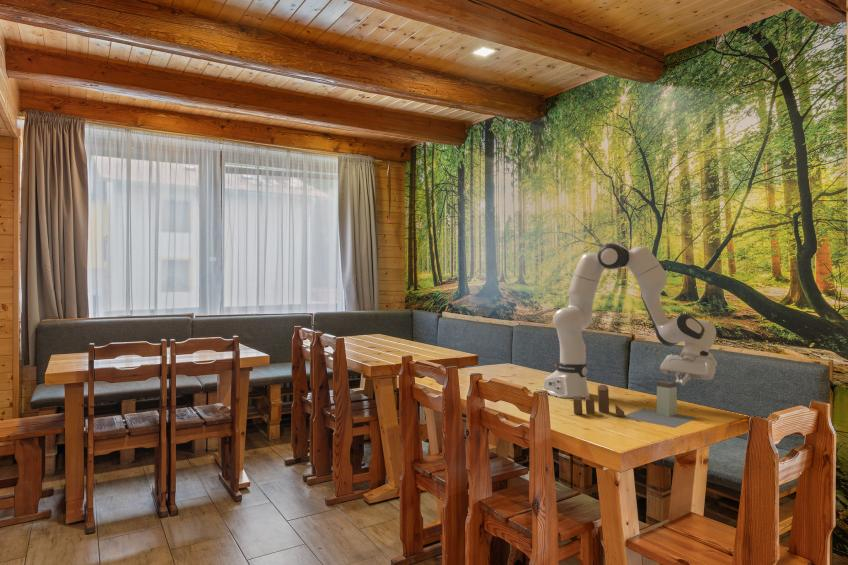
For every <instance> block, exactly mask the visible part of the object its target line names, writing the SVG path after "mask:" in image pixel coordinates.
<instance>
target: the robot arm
mask: <svg viewBox="0 0 848 565" xmlns="http://www.w3.org/2000/svg"><path fill="white" fill-rule="evenodd" d="M623 267H625V268H627V269H629V271H630V272H631V273H632V275H633V276H634V278H635V280H636V282H637V283H638V286H639V288H640V298H641V300H642V303H643V305H644V307H645V310H646V311H647V313H648V316H649V318H650V320H651V322H652V325H653V328H654V331H655V335H656V337H657V339H658V341H659V342H660V343H662V345H664V346H666V347H667V346H668V347H674V346H676V345H677V344H680V342H681V343H682V342H684V346H683V348H682V350H681V352H680V353H679V354H676V353H670V354H669V355H666V357H665V358H664V360H663V361H662V362H661V363H660V365H659V369H660V372H661V373H662V374H663V375H667V376H668V375H669V376H675V378H676V379H675V381H674V382H677V386H678V385H679V386H683V387H684V386H685V384H686V383H687V382H689V381H690V380H691V379H698V380H702V381H703V380H704V381H711V380H712V379H713V378H714V376H715V374H716V367H717V366H718V363H717V360H716V359H715V357H714V355H713V354H712V353H711V352H709V351H710V349H711V348H712V347H713V345H714V343H715V339H716V336H717V329H716V327H715V325H714V324H712V323H711V322H710V321H708V320H704V319H703V320H701V319H700V320H699V319H697V318H695V317H693V316H692V315H691V314H687V313H682V314H679V315H677V316H676V317H673V318H671V319H669V318H668V317H667V315H666V313H665V310H664V309H663V306H662V304H661V300H660V297H661V293H662V292H663V290H664V289H665V287H666V285H667V282H668V276H667V274H666V272H665V269H664V268H663V266H662V265H661V263H660V262H659V260H658V258H656V256H655V255H654V254H653V253H652V252H651V250H650V249H649V248H648V247H646V246H642V245H641V246H636V247H633V248H631V249H629V248H628V247H627V246H626V245H625V244H623V243H620V242H611V243H605V244H604V245H603V246H601V247H600V248H599V250H598V252H593V251H592V252H591V251H590V252H589V251H588V252H584V253H583V254H582V255H581V256H580V259H579V261H578V262H577V265H576V267H575V270H574V273H573V276H572V277H571V278H572V279H571V282H570V285H569V288H568V294H569V298H568V300H569V302H568V305H567V307H562V308H559V309H558V310H557V311H555V313H554V314H553V316H552V325H553V326H554V328H555V329H556V334H557V337H558V342H559V362H557V363H555V364H554V367H556V369H555V371H553V372H552V373H551V374H549V375H548V376H546V377H545V378H544V381H543V387H540V388H538V390H547V391H548V392H549V394H550V395H549V396H552V397H556V396H557V398H560V397H561V398H562V399H564V398H566V399H567V398H568V399H569V398H570V399H571V398H572V399H573V396H581V397H582V398H585V396H590V392H589V389H588V381H587V374H588V364H587V347H586V343H585V342H584V337H583V334H582V331H583V330H585V329H587V328H589V327H590V325H591V324H592V322H593V308H594V307H593V305H594V299H595V296H596V292H597V289H598V287H599V284H600V281H601V276H602V274H603V272H604V270H618V269H620V268H623ZM682 377H683V378H682ZM590 397H591V396H590ZM561 398H560V399H561Z"/></svg>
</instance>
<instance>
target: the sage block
mask: <svg viewBox="0 0 848 565" xmlns="http://www.w3.org/2000/svg"><path fill="white" fill-rule="evenodd" d="M677 386H678V385H677V382H675V381H671V380H659V381H656V410H657V414H661V415H665V416H672V415H676V414H678V409H677V407H678V406H677V405H678V403H677V401H678V400H677V397H678V396H677V395H678V390H677V389H678V387H677Z"/></svg>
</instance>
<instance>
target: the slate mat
mask: <svg viewBox="0 0 848 565" xmlns="http://www.w3.org/2000/svg"><path fill="white" fill-rule="evenodd" d="M619 418H624V419H629V420H633V421H639V422H644V423H650V424H654V425H659V426H664V427H668V428H678V427H680V426H681V425H684V424H686V423H688V422H691V421H693V420H696V419H697V418H698V417H697V416H696V417H695V416H692V415H691V416H690V415H684V414H680V413H679V414H678V413H677V414H676V415H672V416H665V415H661V414H657V409H653V408H646V407H644V408H640V409H638V410H634V411H632V412H630V413H626V414H625V416H619Z"/></svg>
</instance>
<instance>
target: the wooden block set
mask: <svg viewBox="0 0 848 565" xmlns="http://www.w3.org/2000/svg"><path fill="white" fill-rule="evenodd" d="M609 398H610V396H609V386H607V385H605V384H600V385H598V386H597V405H598V406H597V408H598V412H599V413H601V414H608V413H609V412H610V399H609ZM584 399H585V412H586V414H587V415H593V414H594V415H595V413H596V411H595V410H596V409H595V406H596V405H595V399H594V398H593V397H592V396H585V397H584ZM572 400H573V401H572V402H573V403H572V404H573V413H574V415H583V399H582V397H581V396H573V398H572ZM614 409H615V416H616V417H620V416H625V415H626V414H625V410H623V409H621V407H619V406H618V404H616V403H615V408H614Z"/></svg>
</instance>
